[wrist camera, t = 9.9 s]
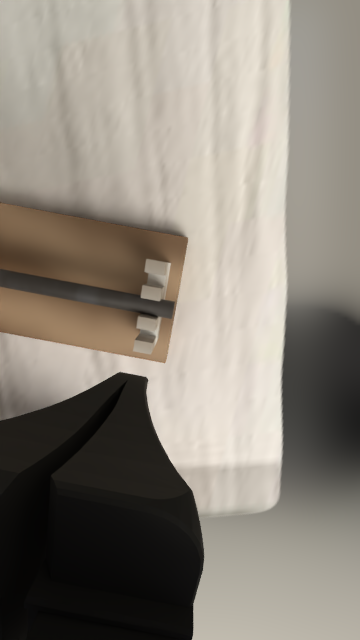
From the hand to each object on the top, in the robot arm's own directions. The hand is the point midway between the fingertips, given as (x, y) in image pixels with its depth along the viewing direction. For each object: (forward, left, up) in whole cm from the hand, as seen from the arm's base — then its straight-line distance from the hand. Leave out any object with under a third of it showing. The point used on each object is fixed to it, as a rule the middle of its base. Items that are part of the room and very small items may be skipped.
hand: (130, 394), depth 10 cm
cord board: (+3, +13, -10) cm, 17 cm away
